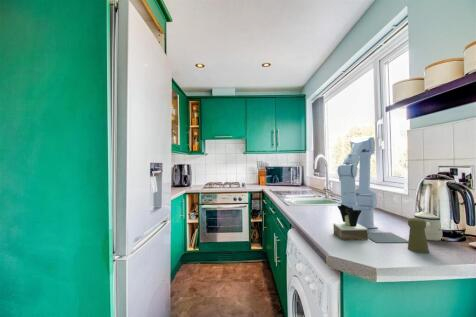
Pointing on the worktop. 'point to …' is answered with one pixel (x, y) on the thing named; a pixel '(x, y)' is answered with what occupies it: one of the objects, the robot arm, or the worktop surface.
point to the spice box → (350, 234)
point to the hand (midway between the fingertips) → (349, 224)
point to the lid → (347, 225)
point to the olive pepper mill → (417, 236)
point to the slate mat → (386, 238)
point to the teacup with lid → (431, 225)
